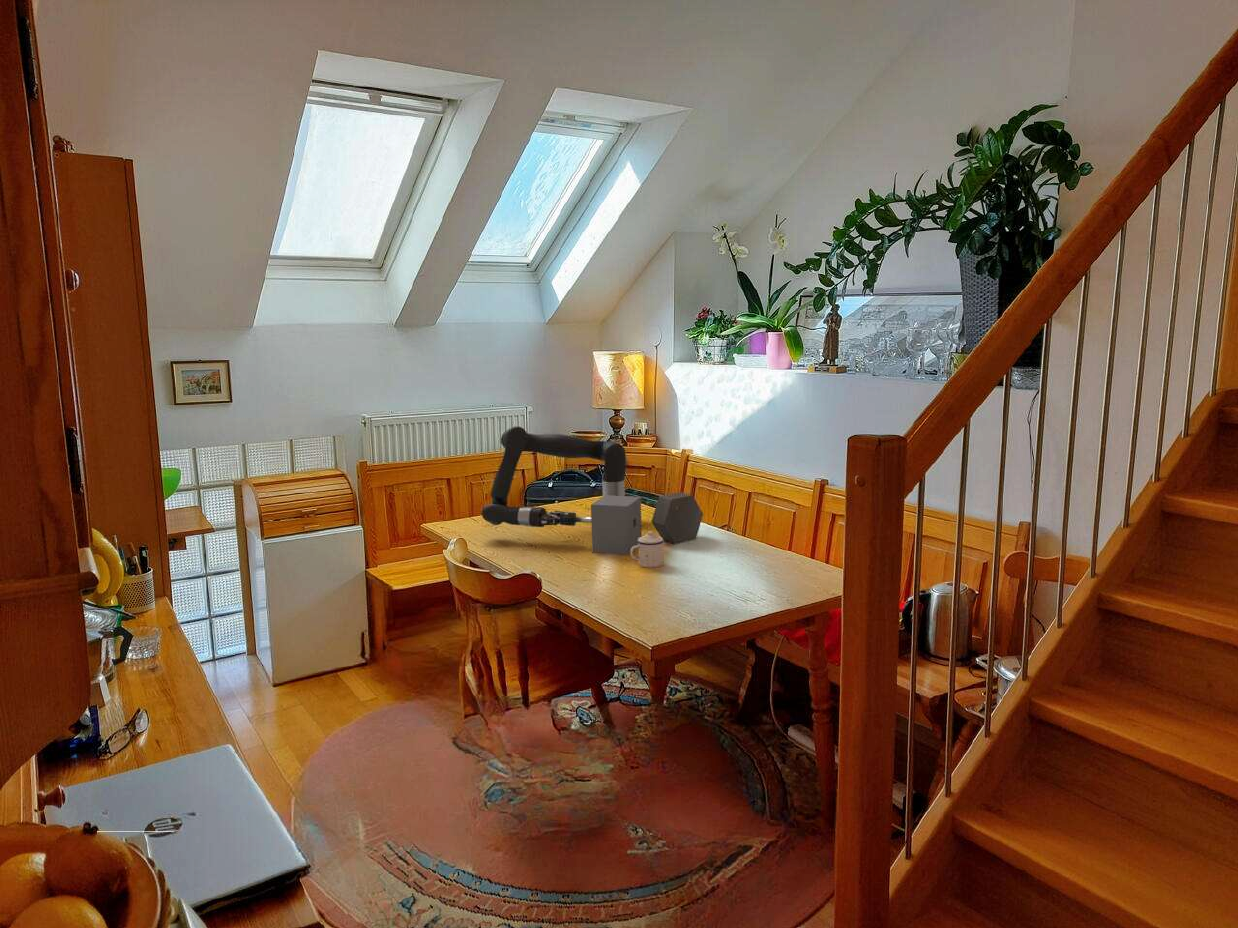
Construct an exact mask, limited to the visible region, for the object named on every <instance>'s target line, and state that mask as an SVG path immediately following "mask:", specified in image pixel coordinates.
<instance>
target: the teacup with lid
mask: <svg viewBox="0 0 1238 928" xmlns="http://www.w3.org/2000/svg"><path fill="white" fill-rule="evenodd" d="M664 541H665V540H663V538H662V537H661V536H660V535H656V534H654V531H650V530H649V531H647V533H646V534H645V535H642V537H640V538H638V541H637V542H638V545H636V546H633V547H632V548H631V550H630V554H629V555H630V556H631V557H632V559H633V560H637V561H638V565H639V566H640V567H643V568H649V569H651V568H660V567H661V566H663V565H664ZM635 548H636V549H637V551H638V554H637V555H638V557H637V556H635V555H634V551H635V550H634V549H635ZM633 550H634V551H633Z"/></svg>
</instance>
